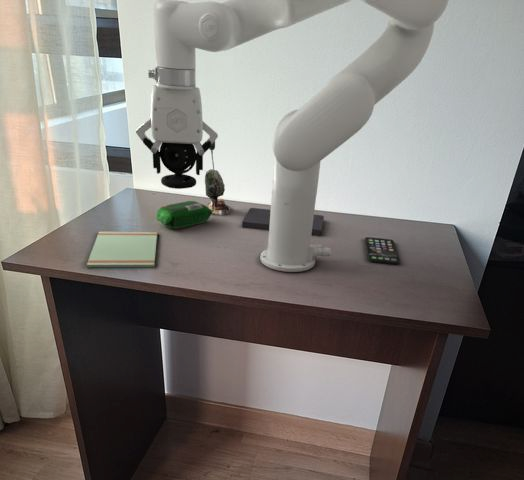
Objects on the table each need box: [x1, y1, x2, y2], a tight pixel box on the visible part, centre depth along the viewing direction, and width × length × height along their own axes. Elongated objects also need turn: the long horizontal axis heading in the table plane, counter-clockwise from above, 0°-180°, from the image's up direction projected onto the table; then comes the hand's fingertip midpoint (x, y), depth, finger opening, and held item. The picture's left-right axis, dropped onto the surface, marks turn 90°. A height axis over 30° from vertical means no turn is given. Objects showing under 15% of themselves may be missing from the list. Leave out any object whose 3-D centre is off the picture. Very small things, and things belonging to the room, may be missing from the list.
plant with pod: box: [203, 140, 231, 216], centre depth 133 cm, size 8×11×20 cm
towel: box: [86, 231, 158, 268], centre depth 111 cm, size 14×20×1 cm
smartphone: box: [364, 236, 401, 265], centre depth 120 cm, size 7×1×15 cm
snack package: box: [156, 200, 213, 230], centre depth 127 cm, size 7×16×5 cm, turn 131°
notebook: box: [241, 207, 325, 237], centre depth 133 cm, size 13×2×21 cm
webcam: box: [159, 142, 197, 190], centre depth 102 cm, size 8×8×10 cm
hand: (178, 172), depth 103 cm, fingers closed on webcam, 7 cm apart
